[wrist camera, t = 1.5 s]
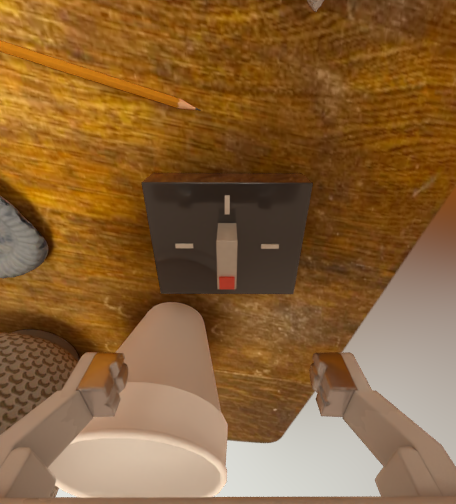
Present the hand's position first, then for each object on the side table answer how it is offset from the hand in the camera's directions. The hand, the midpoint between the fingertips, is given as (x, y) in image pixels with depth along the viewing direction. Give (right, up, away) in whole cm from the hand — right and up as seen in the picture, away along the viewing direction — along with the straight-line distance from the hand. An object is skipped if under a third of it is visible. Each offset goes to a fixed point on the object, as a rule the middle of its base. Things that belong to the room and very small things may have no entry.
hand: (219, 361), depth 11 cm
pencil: (-11, +17, +6) cm, 21 cm away
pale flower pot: (-6, -4, +18) cm, 19 cm away
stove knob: (0, +5, +9) cm, 10 cm away
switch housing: (0, +7, +12) cm, 13 cm away
